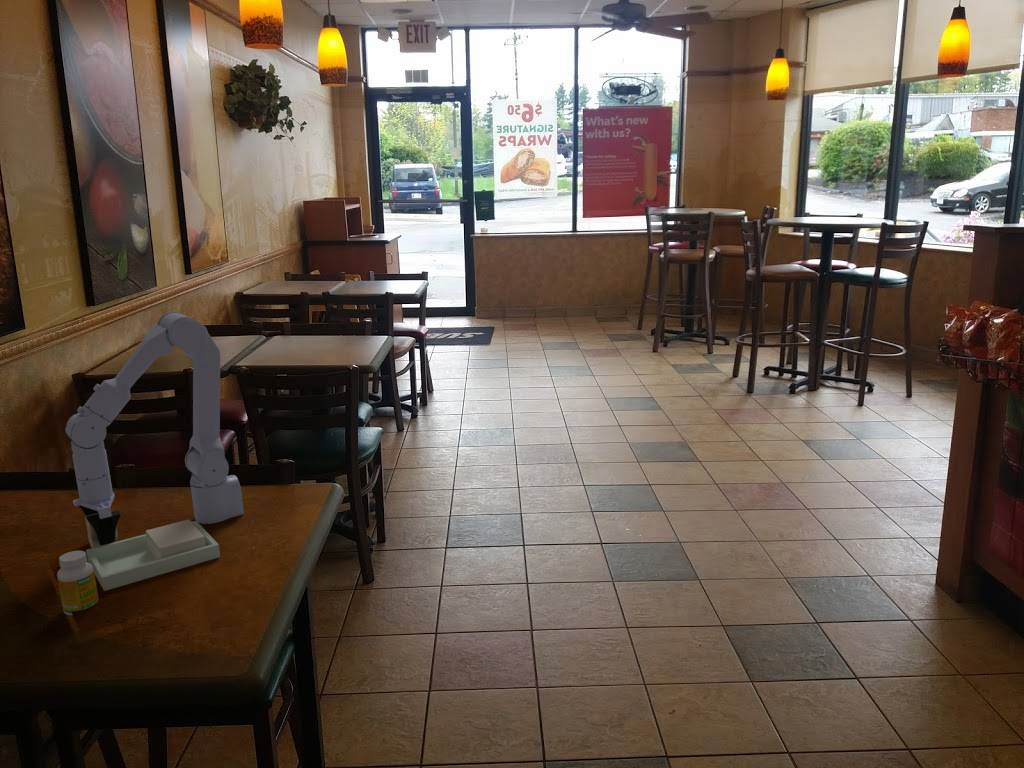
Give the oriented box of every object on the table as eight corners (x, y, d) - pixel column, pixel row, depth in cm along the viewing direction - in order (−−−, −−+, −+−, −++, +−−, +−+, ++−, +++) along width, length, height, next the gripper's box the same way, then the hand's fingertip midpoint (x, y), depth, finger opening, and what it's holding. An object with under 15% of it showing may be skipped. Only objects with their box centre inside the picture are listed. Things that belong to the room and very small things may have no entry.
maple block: (115, 542, 162) (109, 510, 161) (120, 550, 159) (115, 517, 157) (90, 549, 160) (84, 516, 158) (95, 557, 156) (89, 523, 154)
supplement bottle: (84, 618, 134) (75, 564, 132) (56, 615, 136) (46, 562, 133) (106, 601, 140) (97, 549, 137) (79, 599, 141) (69, 547, 138)
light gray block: (191, 538, 161) (188, 519, 160) (207, 555, 153) (204, 536, 152) (148, 549, 156) (145, 530, 155) (162, 568, 149) (159, 548, 148)
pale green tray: (198, 536, 164) (196, 520, 163) (220, 561, 153) (218, 544, 152) (88, 566, 152) (86, 549, 151) (104, 595, 141) (101, 577, 141)
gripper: (62, 469, 159) (74, 534, 162) (76, 491, 147) (88, 559, 151) (102, 461, 163) (112, 524, 166) (118, 481, 152) (129, 548, 155)
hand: (103, 540), depth 159 cm, fingers open, 7 cm apart
